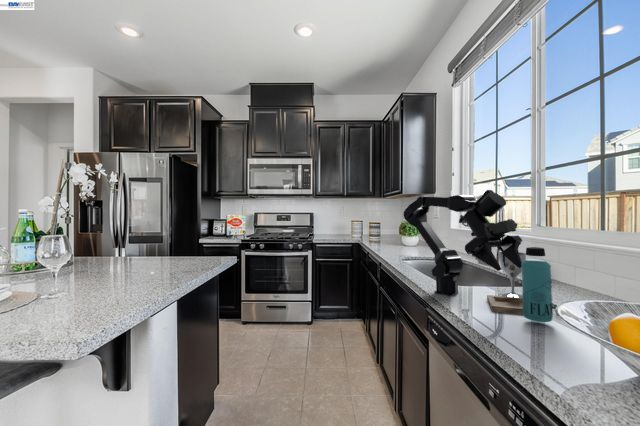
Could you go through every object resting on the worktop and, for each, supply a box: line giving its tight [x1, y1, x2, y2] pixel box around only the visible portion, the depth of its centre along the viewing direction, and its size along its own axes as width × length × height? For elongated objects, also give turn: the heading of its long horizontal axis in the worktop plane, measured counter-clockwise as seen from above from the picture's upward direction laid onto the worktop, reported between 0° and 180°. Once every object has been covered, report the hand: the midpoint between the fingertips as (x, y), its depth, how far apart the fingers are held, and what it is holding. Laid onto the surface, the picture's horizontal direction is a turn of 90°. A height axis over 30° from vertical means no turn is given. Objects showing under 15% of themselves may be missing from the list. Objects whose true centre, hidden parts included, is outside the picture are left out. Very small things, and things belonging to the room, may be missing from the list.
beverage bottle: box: [521, 246, 554, 323], centre depth 75 cm, size 6×7×20 cm
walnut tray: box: [486, 294, 523, 315], centre depth 88 cm, size 13×13×2 cm
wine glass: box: [498, 251, 527, 298], centre depth 100 cm, size 8×8×15 cm
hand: (510, 268), depth 83 cm, fingers open, 9 cm apart
